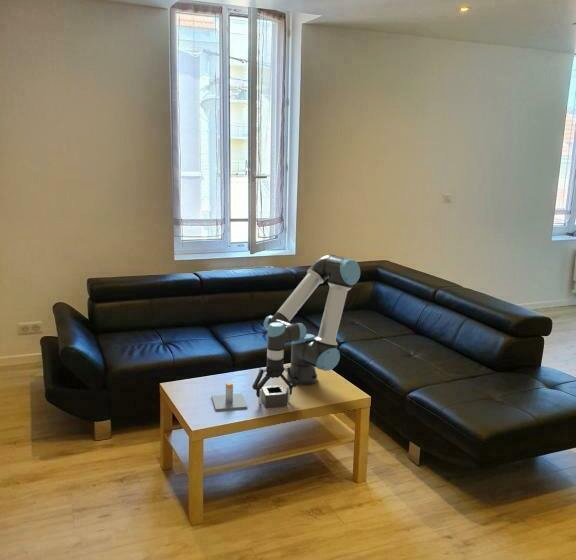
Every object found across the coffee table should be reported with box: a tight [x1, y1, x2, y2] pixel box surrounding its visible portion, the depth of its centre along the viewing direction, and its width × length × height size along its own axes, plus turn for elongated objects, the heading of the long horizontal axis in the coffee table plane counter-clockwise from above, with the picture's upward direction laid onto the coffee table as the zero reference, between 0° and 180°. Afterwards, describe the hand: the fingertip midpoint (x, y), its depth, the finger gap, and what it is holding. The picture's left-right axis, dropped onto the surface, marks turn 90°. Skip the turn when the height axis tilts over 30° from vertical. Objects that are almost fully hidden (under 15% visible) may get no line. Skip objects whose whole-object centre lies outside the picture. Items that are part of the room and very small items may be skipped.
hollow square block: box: [261, 384, 289, 409], centre depth 261 cm, size 10×10×6 cm
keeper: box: [211, 382, 248, 412], centre depth 259 cm, size 14×14×9 cm
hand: (273, 402), depth 262 cm, fingers open, 12 cm apart
